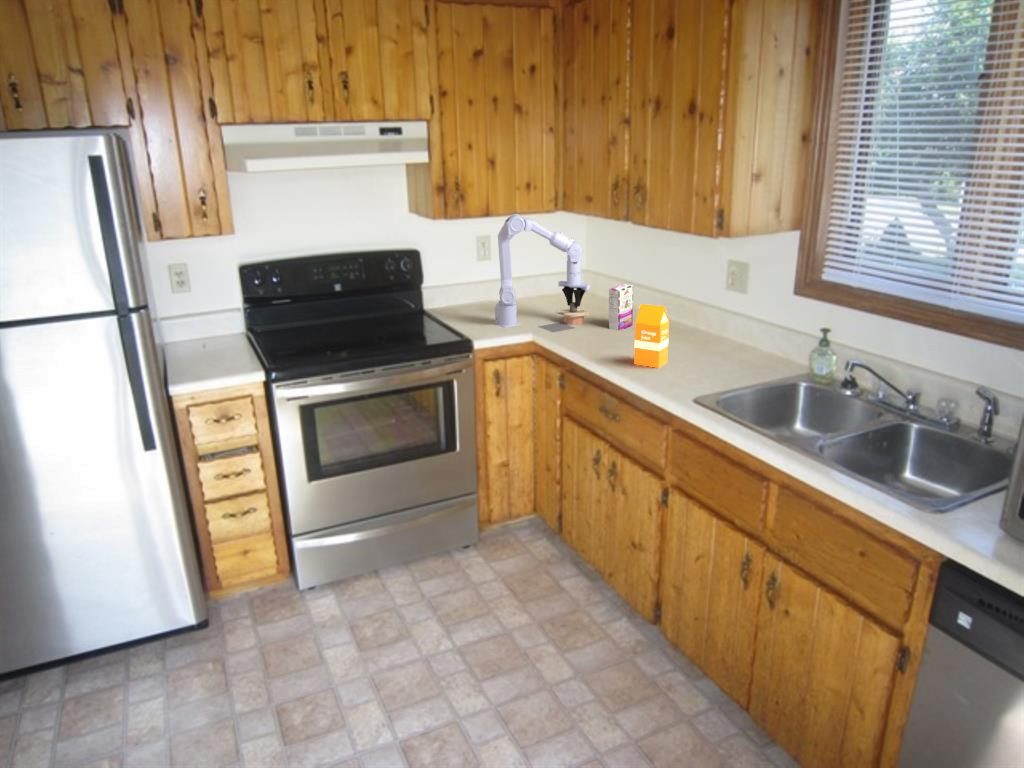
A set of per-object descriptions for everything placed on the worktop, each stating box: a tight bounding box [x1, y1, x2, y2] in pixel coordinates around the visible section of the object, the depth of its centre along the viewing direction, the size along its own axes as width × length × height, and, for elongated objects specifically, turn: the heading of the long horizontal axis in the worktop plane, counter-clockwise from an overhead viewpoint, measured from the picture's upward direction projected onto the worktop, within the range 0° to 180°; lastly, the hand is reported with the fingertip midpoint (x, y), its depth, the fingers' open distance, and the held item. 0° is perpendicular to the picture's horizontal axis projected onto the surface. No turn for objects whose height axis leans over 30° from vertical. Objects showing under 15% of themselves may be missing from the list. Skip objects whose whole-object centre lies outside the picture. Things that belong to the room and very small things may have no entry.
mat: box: [538, 322, 576, 333], centre depth 295 cm, size 11×11×1 cm
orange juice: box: [633, 303, 670, 369], centre depth 245 cm, size 8×9×20 cm
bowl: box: [563, 315, 585, 325], centre depth 302 cm, size 8×8×4 cm
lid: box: [555, 301, 592, 318], centre depth 300 cm, size 10×10×4 cm
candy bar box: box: [608, 283, 634, 331], centre depth 291 cm, size 11×5×16 cm, turn 143°
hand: (573, 305), depth 300 cm, fingers open, 3 cm apart
